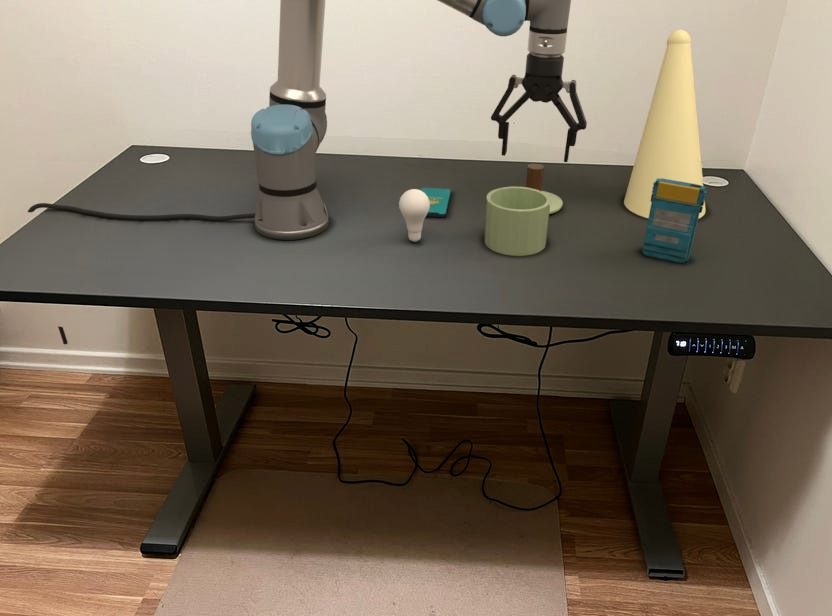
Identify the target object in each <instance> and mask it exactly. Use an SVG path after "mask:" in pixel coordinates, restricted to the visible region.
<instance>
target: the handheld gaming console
mask: <svg viewBox="0 0 832 616" xmlns="http://www.w3.org/2000/svg"><path fill="white" fill-rule="evenodd" d="M652 193H653V194H652V196H651V202H652V203H651V208H650V213H649V218H647V225H646V229H645V235H644V241H643V246H642V251H641V253H642V254H644V256H645V257H649V258H655V259H659V260H663V261H670V262H674V263H678V264H684V263H685V262H686V263H689V260H690V256H691V254H692V247H693V243H694V239H695V235H696V230H697V226H698V222H699V219H700V218H699V214H700V213H701V212H702V208H703V207H702V206H703V204H704V200H705V201H706V195H707V190H706V186H704V185H703V186H702V185H697V184H691V183H686V182H680V181H674V180H669V179H663V178H662V179H659V178H657V180H656V182H654V183H653V190H652ZM698 218H699V219H698Z"/></svg>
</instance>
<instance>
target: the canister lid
mask: <svg viewBox="0 0 832 616" xmlns="http://www.w3.org/2000/svg"><path fill="white" fill-rule="evenodd" d="M526 167H527V168H526V180H525V187H527V188H532V189H536V190H539V191H541V192H544V193H545V194H547V195H548V196H549V197H550V199H551V203H550V212H549V215H551V214H554V213H557V212H559V211H560V210H562V208H563V204H564V203H563V200H562V198H561V197H560V196H559V195H556V194H554V193H552V192H549V191H545V190H543V181H544V172H545V171H544V170H545V166H544V165H543V164H540V163H529V164H527V166H526Z"/></svg>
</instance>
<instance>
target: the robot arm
mask: <svg viewBox="0 0 832 616" xmlns="http://www.w3.org/2000/svg"><path fill="white" fill-rule="evenodd" d="M437 2H439V3H442V4H443V5H445V6H447V7H450V8H451V9H453V10H455V11H457V12H458V13H460V14H462V15H465V16H466V17H468V18H470V19H472V20H473V21H475V22H476V23H479V24H481V25H483V26H485V27H486V29H487V30H488V31H489V32H491V34H494V35H495V36H498V37H509V36H513V35H514V34H516V33H517V32H518V31H519V30H520V29H521V28H522V27H523V25H524V23H525V22H529V29H528V38H527V39H528V40H527V47H526V49H527V52H529V53H527V54H526V60H525V71H524V76H523V77H519V76H517V75H516V74H512V75H511V76H510V77H509V79H508V85H507V88H506V90H505V92H504V93H503V95H502V97H501V98H500V100H499V102H498V104H497V106H496V107H495V109H494V111H493V112H492V114H491V116H490V120H491V121H492V122H496V123H497V124H498V130H497V131H498V132H497V138H498V139H499V140H502V141H501V143H502V145H501V156H503V157H505V156H506V154H507V152H508V142H509V140H508V139H509V130H510V129H509V128H510V122H509V121H508V120H509V119H511V117H512V116H513V115H514V114H515V113H516V112H517V111H518V110H519V109H520V108H521V107H522V106H523V105H524V104H525V103H526V102H527V101H528V100H531V101H532V102H533V103H534V102H536V103H538V102H542V103H545V104H546V103H547V104H548V103H549V102H552V104H553V105H554V106H555V108H556V109H557V111H558V112H559V113H560V115H561V117H562V118H563V120H564V121H565V123H566V124H567V126H568V129H567V134H566V141H565V149H564V158H563V163H568V161H569V154H570V149H571V148H570V147H575V146H576V143H577V137H578V136H577V135H578V132H579V131H581V130H583V131H584V130H586V128H587V125H588V122H587V118H586V115H585V113H584V109H583V107H582V104H581V101H580V98H579V96H578V92H577V81H576V80H575V79H572V80H570V81H563V70H564V63H565V57H564V56H563V55H564V54H565V53H566V44H567V37H568V26H569V20H570V19H569V18H570V11H571V3H572V0H437ZM279 4H280V5H279V28H278V29H279V31H278V57H277V58H278V60H277V80H276V81H275V82H273V84H272V85H271V86H270V87H269V102H268V106H267V107H266V108H261V109H259V110H258V111H257V112H255V113H254V114H253V116H252V118H251V121H250V136H251V137H250V138H251V141H252V145H253V152H254V160H255V167H256V168H255V169H256V174H257V175H256V176H257V182H258V189H259V195H258V199H257V204H256V208H255V209H256V210H255V212H254V213H253V212H252V213H240V214H239V213H238V214H232V215H207V214H197V213H176V214H175V213H174V214H157V215H152V214H151V215H149V214H147V215H145V214H144V215H142V214H136V215H135V214H122V213H121V214H119V213H110V212H102V211H97V210H91V209H85V208H81V207H77V206H70V205H63V204H62V205H61V204H54V203H47V202H40V203H36V204H33V205H32V206H30V207H29V208H28V209H27V213H33V212H35V211H36V210H38V209H42V208H43V209H53V210H60V211H69V212H75V213H79V214H84V215H90V216H94V217H101V218H107V219H117V220H128V221H129V220H131V221H164V220H181V219H182V220H183V219H185V220H186V219H188V220H189V219H190V220H203V221H213V222H225V221H233V220H234V221H235V220H243V219H245V220H247V219H254V226H255V230H256V232H257V233H258V234H259V235H260V236H263V237H265V238H268V239H272V240H280V241H296V240H303V239H308V238H312V237H314V236H317V235H320V234H321V233H323V232H324V231H326V229H328V228H329V225H330V220H329V212H328V209H327V206H326V204H325V202H324V200H323V199H322V196H321V194H320V191H319V189H318V183H317V173H316V172H317V171H316V170H317V169H316V159H315V158H316V157H315V156H316V153H317V151H318V149H319V147H320V145H321V143H322V142H323V140H324V139H325V136H326V133H327V129H328V120H327V118H328V117H327V113H326V106H327V104H326V103H327V93H326V92H325V90H324V89H322V87H321V85H320V84H321V73H322V71H321V70H322V56H323V42H324V27H325V14H326V0H280V3H279ZM520 85H522V87H523V89H524V91H525V92H524V93H522V95H521V96H520V97H519V98H518V99H517V100H516V101H514V103H513V104H512V105H510V107H509V108H508V109H507V110H506V111H505V112H503V114H502V115H501V114H500V113H501V112H502V110H503V108H504V107H505V105H506V103H507V102H508V100H509V98H510V96H511V95H512V93H513V91H514V89H518V88H519V86H520ZM562 89H565V92H566V93H567V94H569V99H570V102H571V104H572V107H573V109H574V113H575V116H576V118H577V121H576V119H575V118H574V116H573V114H572V113H571V112H570V110H569V108H568V107H567V105H566V104H565V102H564V101H563V99H562V98H561V96H560V94H559V93H560V91H562ZM57 328H58V331H59V334H60V337H61V341H62V343H63V345H68V344H69V342H68V339H67V337H66V333H65V330H64V326H57Z"/></svg>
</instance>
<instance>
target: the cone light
mask: <svg viewBox="0 0 832 616" xmlns="http://www.w3.org/2000/svg"><path fill="white" fill-rule="evenodd" d="M659 69H660V70H659V74H658V77H657V81H656V85H655V87H654V91H653V95H652V99H651V103H650V106H649V110H648V113H647V116H646V120H645V123H644V128H643V131H642V135H641V138H640V142H639V146H638V148H637V153H636V156H635V161H634V164H633V167H632V171H631V174H630V178H629V182H628V185H627V189H626V192H625V195H624V200H623V205H624V206H625V208H626V209H627V210H628V211H630V212H631V213H633V214H635V215H637V216H640V217H642V218H646V219H649V213H650V208H651V203H652V202H651V196H652V194H653V193H652V190H653V183H654V182H656V180H657V178H659V179H662V178H663V179H669V180H674V181H680V182H686V183H691V184H697V185H702V186H704V178H703V177H704V176H703V167H702V155H701V144H700V133H699V121H698V112H697V99H696V89H695V78H694V77H695V76H694V67H693V55H692V38H691V35H690V34H689V32H688V31H686V30H684V29H677V30H674V31H673V32H671V34H669V36H668V38H667V39H666V48H665V53H664V55H663V58H662V63H661V66H660V68H659ZM702 207H703V208H702V212H701V213H700V214H699V218H698V220H699V219H701V218H702V217H704V216H705V215H706V212H707V211H706V199H705V200H704V204H703V206H702Z"/></svg>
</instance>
